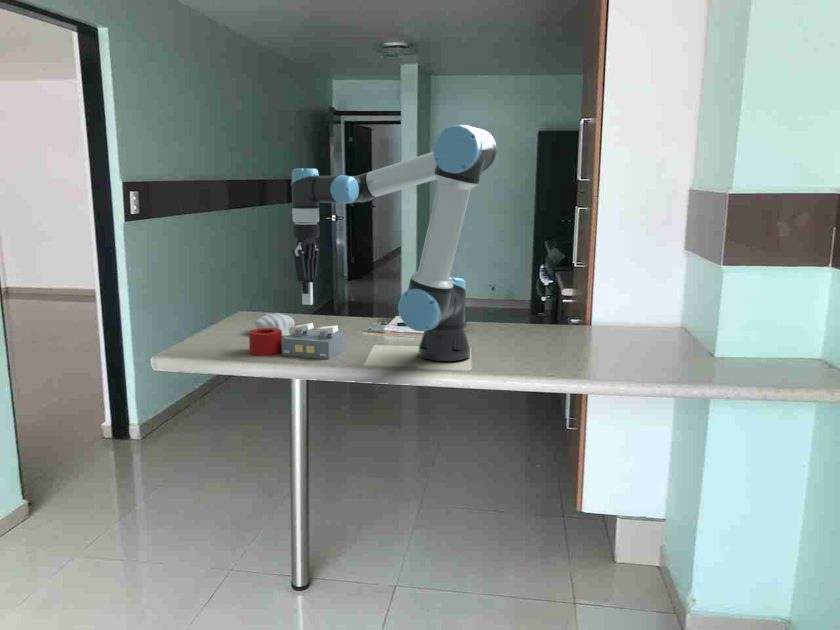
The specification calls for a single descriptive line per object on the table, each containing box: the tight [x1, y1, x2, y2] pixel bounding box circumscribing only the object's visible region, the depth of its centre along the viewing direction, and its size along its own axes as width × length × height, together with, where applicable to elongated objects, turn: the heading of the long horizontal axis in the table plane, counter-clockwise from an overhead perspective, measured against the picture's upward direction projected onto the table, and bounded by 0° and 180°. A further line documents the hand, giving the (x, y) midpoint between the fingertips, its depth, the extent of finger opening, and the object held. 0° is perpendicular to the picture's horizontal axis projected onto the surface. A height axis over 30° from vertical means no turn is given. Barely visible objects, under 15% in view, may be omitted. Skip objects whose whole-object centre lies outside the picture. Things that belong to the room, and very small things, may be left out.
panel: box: [281, 329, 347, 360], centre depth 199 cm, size 15×12×7 cm
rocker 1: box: [289, 322, 315, 334], centre depth 200 cm, size 6×4×2 cm, turn 72°
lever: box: [248, 328, 283, 357], centre depth 203 cm, size 18×9×7 cm, turn 159°
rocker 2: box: [313, 324, 340, 335], centre depth 198 cm, size 6×4×2 cm, turn 72°
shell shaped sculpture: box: [254, 312, 296, 337], centre depth 223 cm, size 13×13×6 cm
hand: (307, 304), depth 198 cm, fingers closed
